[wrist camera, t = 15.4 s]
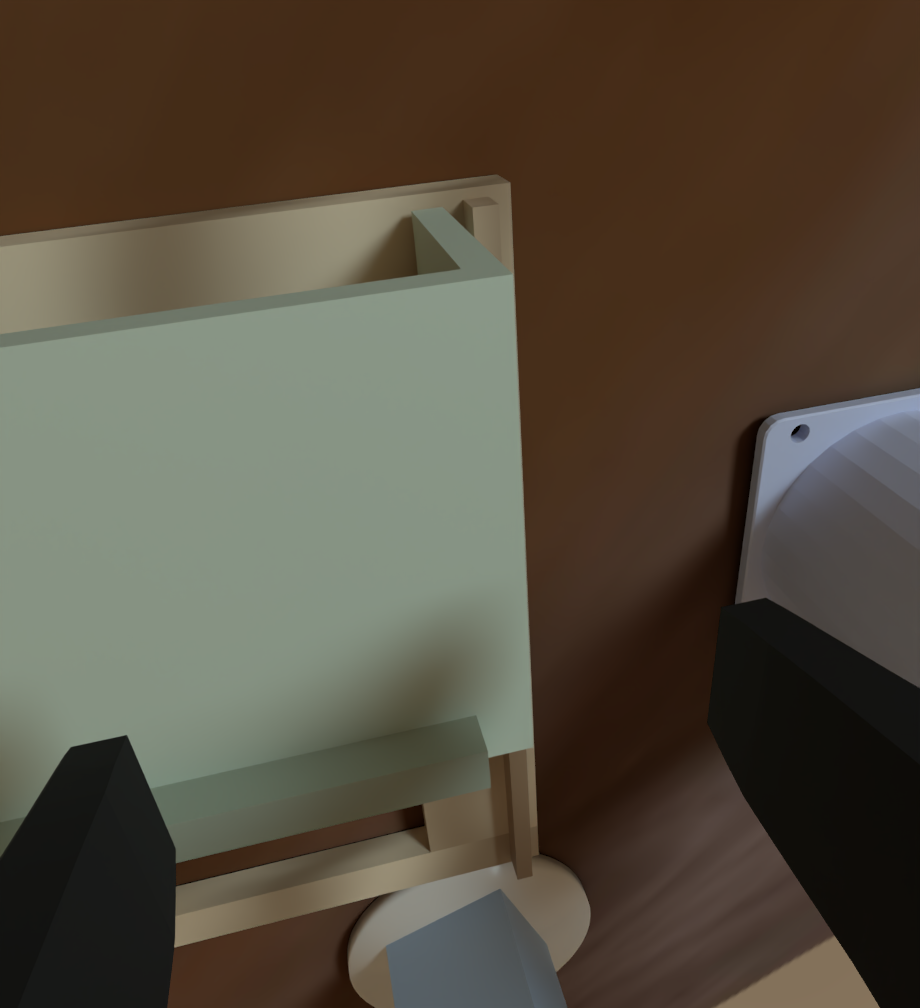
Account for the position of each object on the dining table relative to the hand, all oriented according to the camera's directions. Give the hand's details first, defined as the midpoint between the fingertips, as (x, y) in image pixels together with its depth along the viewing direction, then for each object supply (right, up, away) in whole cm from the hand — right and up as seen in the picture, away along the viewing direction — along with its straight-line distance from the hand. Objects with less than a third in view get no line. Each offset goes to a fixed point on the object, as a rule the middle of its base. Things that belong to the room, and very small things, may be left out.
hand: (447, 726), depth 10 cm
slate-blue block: (0, -13, +19) cm, 23 cm away
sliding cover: (-6, +3, +7) cm, 10 cm away
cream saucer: (+1, -13, +20) cm, 24 cm away
